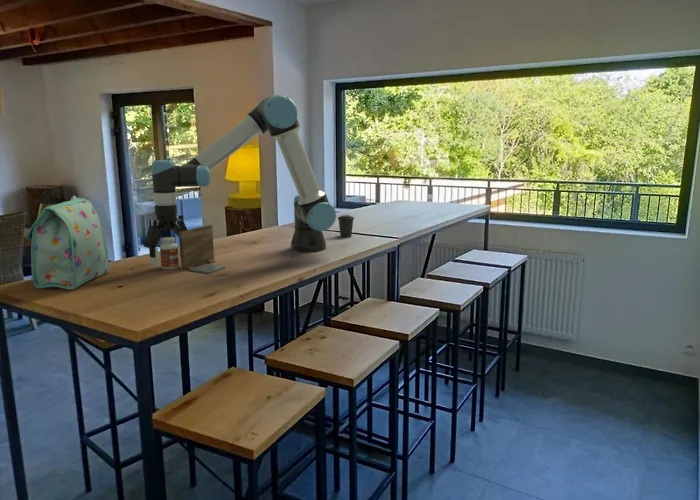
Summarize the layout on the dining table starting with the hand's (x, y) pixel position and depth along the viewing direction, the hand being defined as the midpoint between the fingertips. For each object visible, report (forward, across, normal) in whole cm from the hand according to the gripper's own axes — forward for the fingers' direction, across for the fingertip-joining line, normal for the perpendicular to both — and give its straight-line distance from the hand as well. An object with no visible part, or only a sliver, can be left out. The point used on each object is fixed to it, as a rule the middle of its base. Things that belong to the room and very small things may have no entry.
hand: (169, 261), depth 186 cm
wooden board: (+2, -7, +7) cm, 10 cm away
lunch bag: (+3, +27, -16) cm, 31 cm away
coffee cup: (+2, -82, +32) cm, 88 cm away
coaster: (+2, -4, +14) cm, 15 cm away
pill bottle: (+2, 0, 0) cm, 2 cm away
